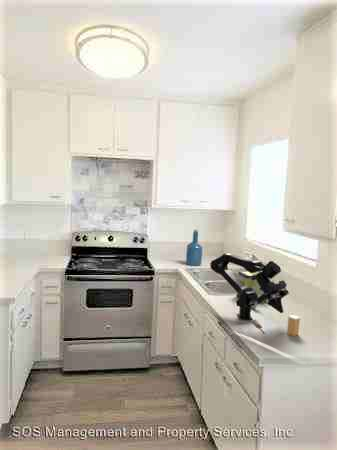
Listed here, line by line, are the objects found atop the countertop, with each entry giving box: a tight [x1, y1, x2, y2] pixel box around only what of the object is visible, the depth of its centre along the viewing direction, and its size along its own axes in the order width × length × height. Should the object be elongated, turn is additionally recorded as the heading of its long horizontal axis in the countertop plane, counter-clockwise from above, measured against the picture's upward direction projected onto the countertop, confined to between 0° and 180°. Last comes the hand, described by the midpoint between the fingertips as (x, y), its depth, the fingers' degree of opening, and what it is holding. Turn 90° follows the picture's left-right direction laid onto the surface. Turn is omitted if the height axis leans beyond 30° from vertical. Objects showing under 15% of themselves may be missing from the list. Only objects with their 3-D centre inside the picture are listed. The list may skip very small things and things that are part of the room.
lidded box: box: [286, 314, 301, 337], centre depth 164 cm, size 4×4×8 cm
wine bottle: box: [185, 229, 203, 267], centre depth 308 cm, size 14×13×30 cm
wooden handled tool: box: [251, 319, 266, 335], centre depth 170 cm, size 14×2×2 cm, turn 5°
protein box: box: [236, 271, 268, 302], centre depth 220 cm, size 10×16×16 cm
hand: (282, 312), depth 169 cm, fingers closed
